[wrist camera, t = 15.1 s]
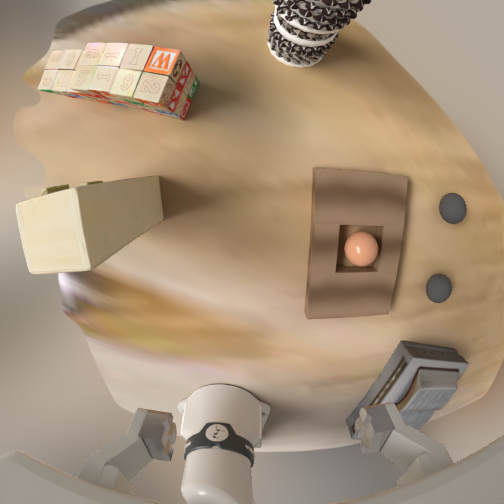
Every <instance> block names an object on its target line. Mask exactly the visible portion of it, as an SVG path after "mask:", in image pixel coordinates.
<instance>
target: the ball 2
mask: <svg viewBox="0 0 504 504" xmlns="http://www.w3.org/2000/svg"><path fill="white" fill-rule="evenodd" d="M439 210H440V214H441V216H442V218H443V219H444V220H445V221H446V222H448V223H451V224H456V223H459V222H461V221H462V220H463V219H464V217H465V215H466V204H465V201H464V200H463V198H462V197H461V196H460V195H458V194H455V193H449V194H446V195H445V196H444V197H443V198H442V199H441V201H440V205H439Z"/></svg>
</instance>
